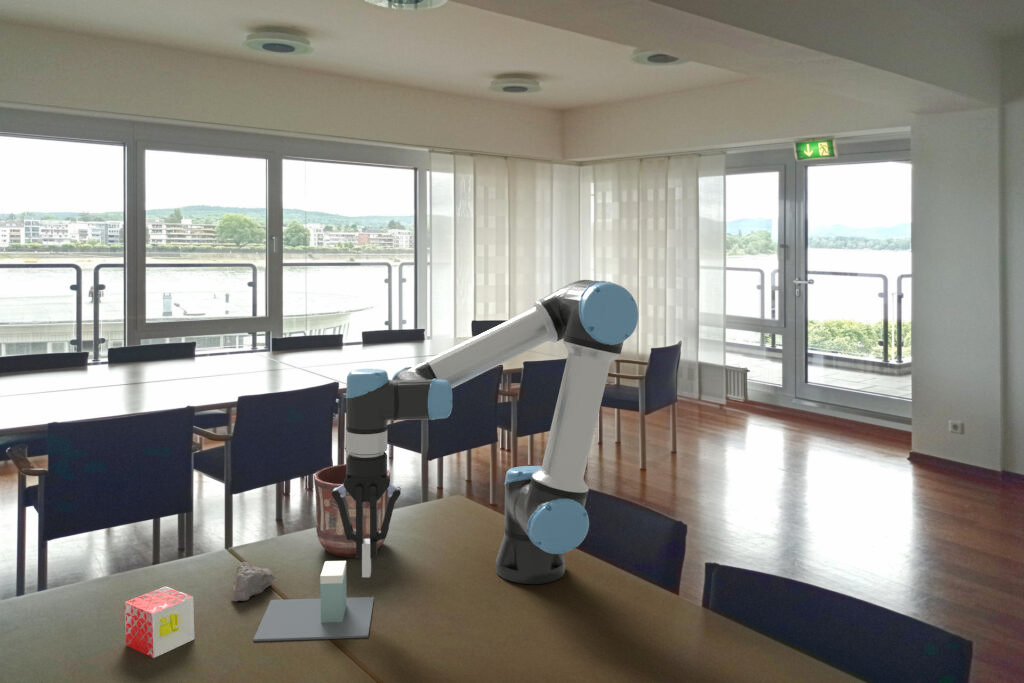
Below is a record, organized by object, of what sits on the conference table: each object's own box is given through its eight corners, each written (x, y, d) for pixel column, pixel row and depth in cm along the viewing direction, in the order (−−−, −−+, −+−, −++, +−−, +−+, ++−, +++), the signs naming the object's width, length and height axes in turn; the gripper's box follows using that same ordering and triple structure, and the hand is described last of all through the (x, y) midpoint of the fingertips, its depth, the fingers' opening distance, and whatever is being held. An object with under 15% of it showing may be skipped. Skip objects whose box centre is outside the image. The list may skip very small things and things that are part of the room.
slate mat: (373, 598, 157) (373, 596, 157) (368, 637, 142) (368, 635, 142) (270, 601, 155) (270, 599, 155) (253, 641, 139) (253, 639, 139)
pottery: (299, 546, 185) (299, 471, 183) (364, 529, 197) (364, 459, 194) (338, 570, 172) (338, 489, 170) (405, 550, 184) (406, 475, 182)
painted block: (346, 605, 153) (346, 560, 152) (342, 622, 147) (342, 575, 146) (325, 606, 153) (325, 561, 152) (320, 622, 146) (320, 575, 145)
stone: (264, 603, 155) (263, 575, 154) (222, 603, 154) (221, 575, 154) (277, 583, 165) (276, 555, 164) (237, 583, 164) (237, 556, 164)
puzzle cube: (153, 658, 133) (152, 613, 132) (126, 645, 137) (124, 602, 137) (194, 639, 140) (193, 596, 139) (167, 627, 144) (166, 586, 143)
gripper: (402, 447, 151) (401, 565, 154) (333, 447, 150) (333, 567, 153) (401, 457, 144) (400, 581, 147) (328, 457, 143) (329, 583, 145)
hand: (366, 574), depth 150 cm, fingers closed
